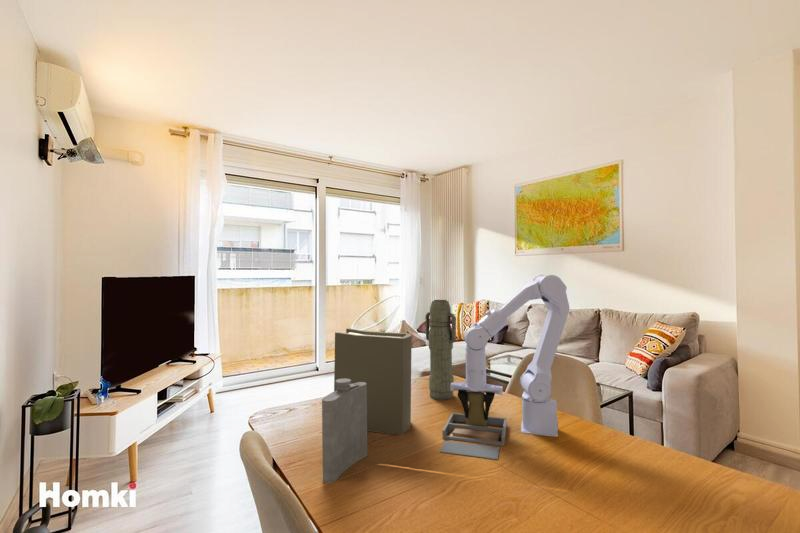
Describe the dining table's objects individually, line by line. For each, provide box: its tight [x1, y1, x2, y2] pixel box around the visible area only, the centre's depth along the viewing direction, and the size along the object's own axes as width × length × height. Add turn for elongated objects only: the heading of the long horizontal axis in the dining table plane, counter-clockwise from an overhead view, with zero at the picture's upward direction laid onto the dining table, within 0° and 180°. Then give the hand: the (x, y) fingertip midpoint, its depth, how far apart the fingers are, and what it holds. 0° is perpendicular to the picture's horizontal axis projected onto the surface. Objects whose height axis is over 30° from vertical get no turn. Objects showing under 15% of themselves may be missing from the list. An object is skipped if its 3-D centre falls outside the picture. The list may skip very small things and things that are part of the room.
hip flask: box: [321, 378, 368, 484], centre depth 91 cm, size 16×4×20 cm, turn 154°
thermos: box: [425, 299, 457, 401], centre depth 142 cm, size 9×12×35 cm
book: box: [333, 327, 413, 436], centre depth 115 cm, size 22×9×28 cm, turn 74°
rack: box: [441, 412, 508, 446], centre depth 109 cm, size 16×14×2 cm
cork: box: [466, 391, 488, 427], centre depth 111 cm, size 6×6×11 cm
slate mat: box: [439, 440, 500, 461], centre depth 97 cm, size 14×6×1 cm, turn 72°
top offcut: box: [452, 428, 501, 442], centre depth 105 cm, size 12×4×1 cm, turn 68°
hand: (476, 417), depth 111 cm, fingers closed on cork, 5 cm apart
